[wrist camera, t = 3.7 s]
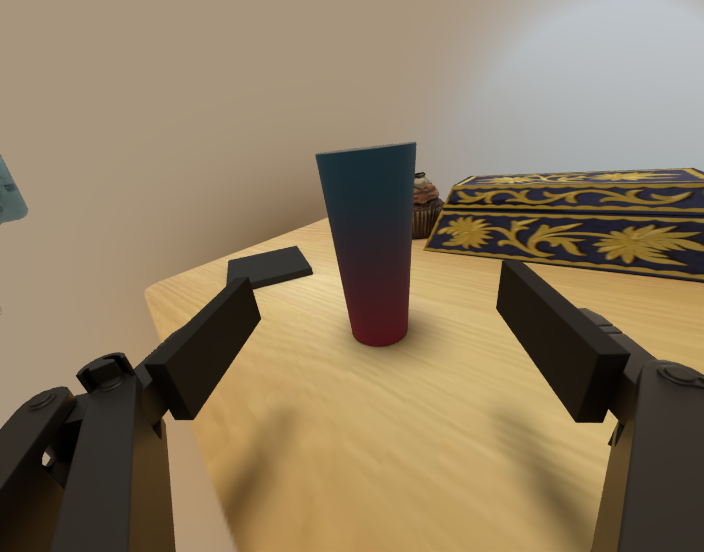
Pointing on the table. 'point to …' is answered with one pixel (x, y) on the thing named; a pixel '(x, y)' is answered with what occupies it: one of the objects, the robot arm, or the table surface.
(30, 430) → the robot arm
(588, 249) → the decorative box
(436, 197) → the cupcake
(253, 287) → the mat
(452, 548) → the table surface
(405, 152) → the cup
